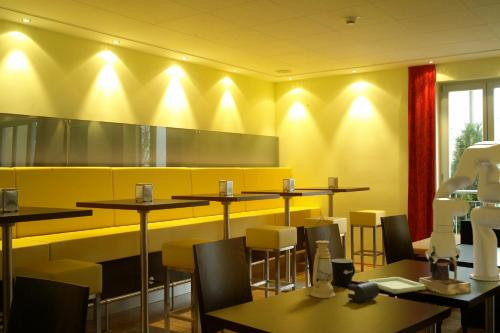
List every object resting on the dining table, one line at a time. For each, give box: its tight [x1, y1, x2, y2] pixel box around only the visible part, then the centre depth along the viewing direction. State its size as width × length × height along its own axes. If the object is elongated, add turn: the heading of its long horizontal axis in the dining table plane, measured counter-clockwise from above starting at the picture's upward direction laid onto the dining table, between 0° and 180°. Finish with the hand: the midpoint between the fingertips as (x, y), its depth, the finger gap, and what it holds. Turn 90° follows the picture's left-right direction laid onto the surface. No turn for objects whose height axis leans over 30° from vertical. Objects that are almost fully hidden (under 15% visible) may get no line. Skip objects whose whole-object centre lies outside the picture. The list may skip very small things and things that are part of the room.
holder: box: [418, 276, 471, 296], centre depth 201 cm, size 12×15×4 cm
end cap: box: [347, 281, 380, 305], centre depth 183 cm, size 10×7×7 cm
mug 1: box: [331, 258, 356, 287], centre depth 211 cm, size 12×9×10 cm
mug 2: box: [431, 258, 458, 285], centre depth 201 cm, size 10×7×12 cm
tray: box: [365, 276, 428, 295], centre depth 205 cm, size 16×18×2 cm
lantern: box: [310, 216, 336, 299], centre depth 193 cm, size 12×10×30 cm
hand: (443, 272), depth 200 cm, fingers open, 9 cm apart
